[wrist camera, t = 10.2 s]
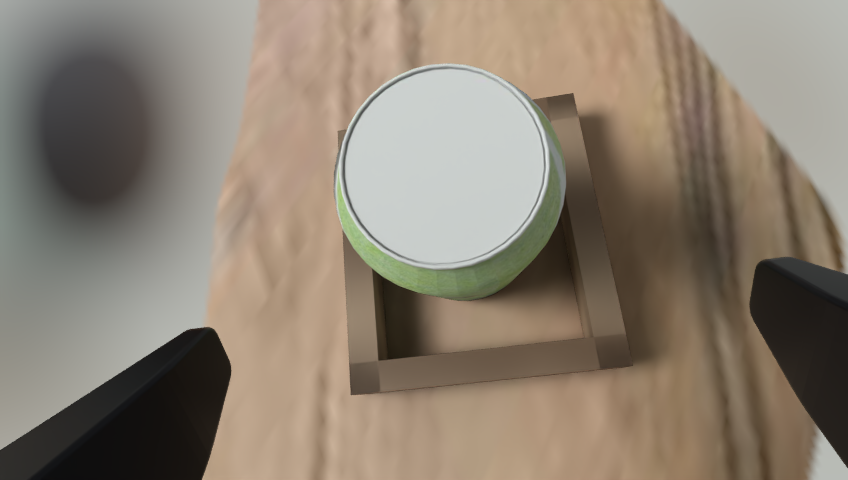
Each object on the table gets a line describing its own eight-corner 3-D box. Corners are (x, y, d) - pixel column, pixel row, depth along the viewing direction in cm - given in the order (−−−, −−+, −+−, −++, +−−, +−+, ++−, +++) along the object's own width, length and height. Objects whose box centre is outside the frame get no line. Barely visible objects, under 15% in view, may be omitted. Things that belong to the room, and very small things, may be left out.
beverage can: (508, 165, 24) (522, -42, 12) (557, 314, 21) (632, 229, 10) (383, 201, 24) (282, 31, 12) (418, 350, 22) (335, 309, 10)
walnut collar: (620, 367, 20) (632, 365, 18) (363, 394, 21) (351, 394, 19) (566, 116, 24) (573, 93, 22) (349, 150, 25) (337, 130, 23)
